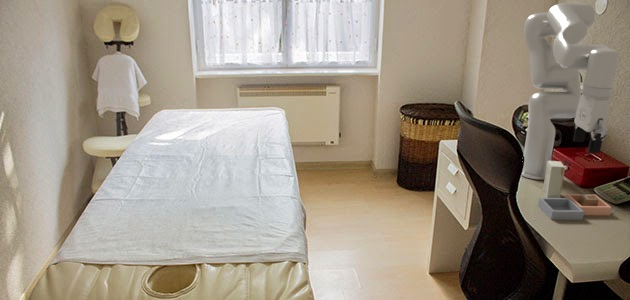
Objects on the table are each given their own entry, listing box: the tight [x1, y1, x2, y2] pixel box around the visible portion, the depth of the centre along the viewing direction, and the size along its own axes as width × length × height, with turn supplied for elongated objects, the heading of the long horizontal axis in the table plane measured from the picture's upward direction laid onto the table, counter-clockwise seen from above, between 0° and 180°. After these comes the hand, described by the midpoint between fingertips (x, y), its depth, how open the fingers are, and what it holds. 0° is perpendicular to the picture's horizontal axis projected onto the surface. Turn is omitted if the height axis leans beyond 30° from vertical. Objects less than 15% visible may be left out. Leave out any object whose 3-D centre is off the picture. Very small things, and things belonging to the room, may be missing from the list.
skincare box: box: [542, 160, 566, 198], centre depth 167 cm, size 6×4×12 cm
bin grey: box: [537, 197, 585, 221], centre depth 156 cm, size 10×10×4 cm
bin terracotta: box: [565, 193, 612, 216], centre depth 159 cm, size 10×10×4 cm
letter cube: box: [578, 193, 598, 206], centre depth 159 cm, size 4×4×4 cm
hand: (585, 146), depth 151 cm, fingers open, 9 cm apart
